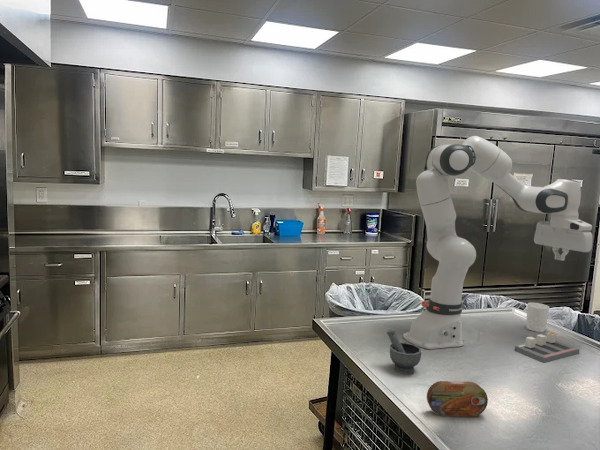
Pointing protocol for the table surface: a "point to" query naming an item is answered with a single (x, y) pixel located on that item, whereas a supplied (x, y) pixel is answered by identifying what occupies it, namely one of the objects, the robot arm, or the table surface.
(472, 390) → the tin
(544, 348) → the panel
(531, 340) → the block
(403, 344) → the mortar and pestle
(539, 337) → the block
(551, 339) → the block
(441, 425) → the table surface
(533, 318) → the white cup
